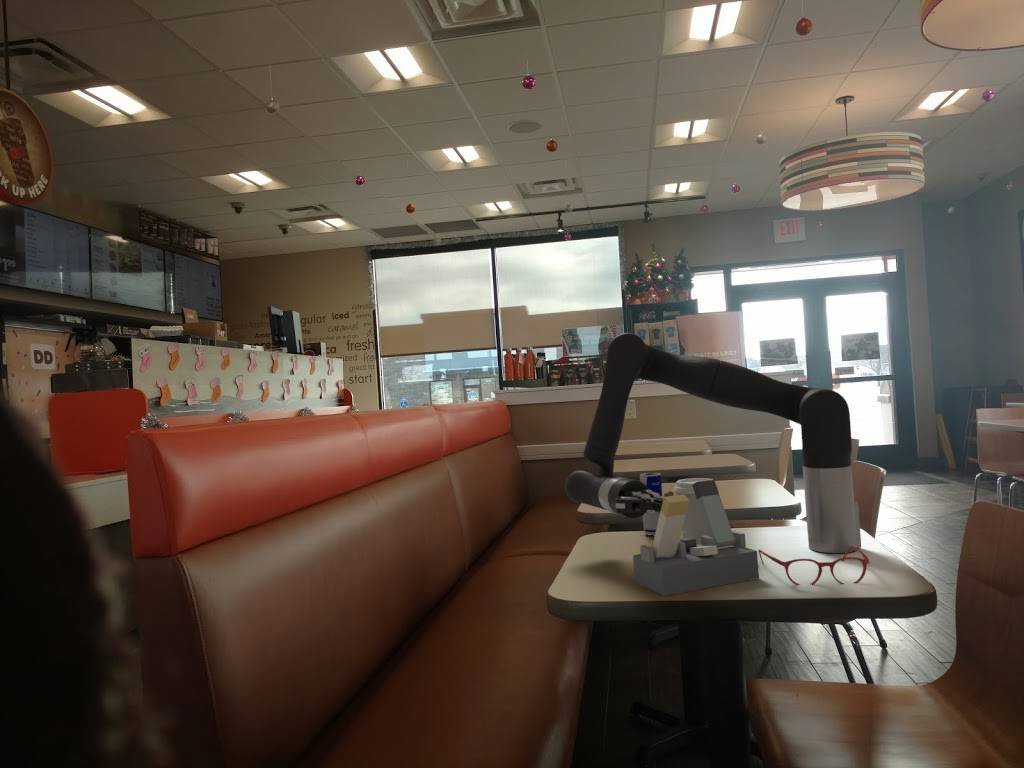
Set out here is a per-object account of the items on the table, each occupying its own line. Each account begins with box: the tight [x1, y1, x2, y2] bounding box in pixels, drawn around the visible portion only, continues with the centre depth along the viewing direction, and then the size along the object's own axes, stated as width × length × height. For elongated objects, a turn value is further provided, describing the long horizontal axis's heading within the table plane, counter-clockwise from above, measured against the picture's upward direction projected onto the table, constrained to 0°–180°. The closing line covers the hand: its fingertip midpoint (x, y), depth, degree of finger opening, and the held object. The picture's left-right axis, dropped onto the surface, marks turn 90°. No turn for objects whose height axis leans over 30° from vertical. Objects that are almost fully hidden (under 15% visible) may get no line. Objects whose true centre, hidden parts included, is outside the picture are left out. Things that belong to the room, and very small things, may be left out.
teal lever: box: [692, 479, 736, 548], centre depth 128 cm, size 5×2×13 cm, turn 109°
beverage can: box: [639, 472, 663, 535], centre depth 164 cm, size 5×5×15 cm
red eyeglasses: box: [757, 546, 870, 586], centre depth 123 cm, size 17×16×5 cm
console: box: [632, 530, 760, 597], centre depth 124 cm, size 21×10×8 cm, turn 109°
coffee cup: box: [673, 477, 719, 545], centre depth 146 cm, size 10×10×15 cm
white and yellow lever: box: [651, 494, 689, 558], centre depth 119 cm, size 5×2×13 cm, turn 109°
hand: (670, 507), depth 119 cm, fingers closed
